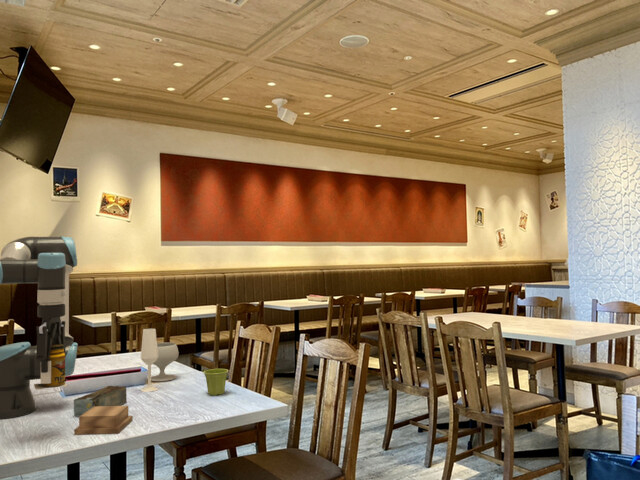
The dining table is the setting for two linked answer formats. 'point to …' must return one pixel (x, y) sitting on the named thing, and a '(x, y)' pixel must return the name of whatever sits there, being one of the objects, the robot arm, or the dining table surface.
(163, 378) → the chalice
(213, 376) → the plant pot
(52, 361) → the condiment
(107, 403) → the beverage carton
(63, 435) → the dining table surface
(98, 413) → the walnut plinth
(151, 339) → the champagne flute
